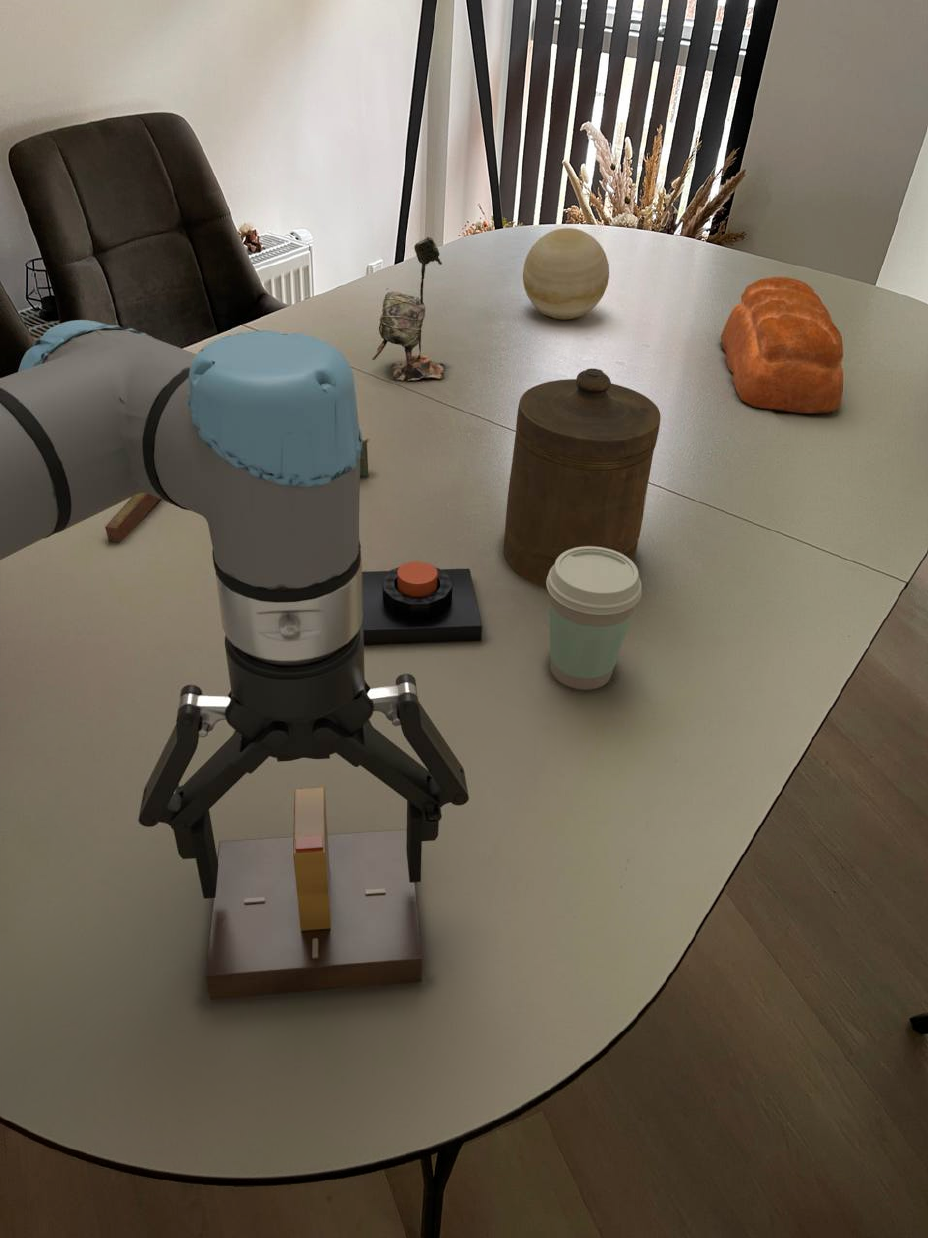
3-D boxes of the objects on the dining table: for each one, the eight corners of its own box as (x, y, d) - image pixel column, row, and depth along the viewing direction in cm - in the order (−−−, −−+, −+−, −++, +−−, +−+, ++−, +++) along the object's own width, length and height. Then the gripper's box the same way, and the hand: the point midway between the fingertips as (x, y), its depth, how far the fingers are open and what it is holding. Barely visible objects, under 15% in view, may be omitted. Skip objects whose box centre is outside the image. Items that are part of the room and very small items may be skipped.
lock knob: (301, 865, 68) (294, 786, 63) (329, 863, 68) (324, 784, 63) (300, 931, 64) (292, 852, 59) (330, 929, 64) (325, 849, 59)
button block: (359, 648, 93) (358, 615, 90) (356, 588, 101) (355, 557, 98) (481, 643, 94) (483, 610, 92) (468, 585, 102) (470, 554, 100)
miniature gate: (68, 508, 103) (189, 383, 125) (80, 549, 107) (196, 421, 129) (301, 548, 99) (385, 412, 121) (306, 589, 103) (386, 449, 125)
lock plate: (210, 1002, 63) (204, 974, 61) (223, 867, 71) (219, 839, 69) (421, 984, 64) (422, 957, 62) (409, 854, 73) (410, 827, 71)
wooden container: (660, 560, 108) (697, 376, 94) (575, 611, 99) (604, 416, 86) (561, 509, 116) (583, 332, 103) (475, 551, 107) (487, 365, 94)
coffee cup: (642, 673, 91) (664, 570, 84) (587, 714, 86) (604, 609, 79) (574, 633, 96) (589, 532, 89) (517, 669, 91) (528, 566, 84)
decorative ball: (613, 312, 173) (625, 226, 164) (588, 338, 162) (599, 247, 153) (536, 297, 178) (544, 213, 169) (506, 321, 167) (513, 232, 158)
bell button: (398, 598, 93) (398, 584, 92) (396, 575, 96) (396, 561, 95) (439, 597, 94) (439, 582, 93) (435, 574, 97) (435, 560, 96)
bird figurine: (382, 359, 151) (381, 227, 139) (451, 368, 149) (456, 235, 137) (367, 378, 144) (365, 242, 132) (439, 388, 143) (444, 251, 131)
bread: (738, 410, 141) (758, 324, 133) (716, 335, 166) (732, 258, 158) (845, 419, 140) (871, 333, 132) (806, 342, 165) (827, 265, 157)
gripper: (38, 683, 47) (114, 937, 60) (531, 659, 50) (503, 905, 63) (68, 595, 53) (131, 843, 66) (508, 579, 56) (486, 818, 69)
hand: (313, 874), depth 64 cm, fingers open, 13 cm apart
